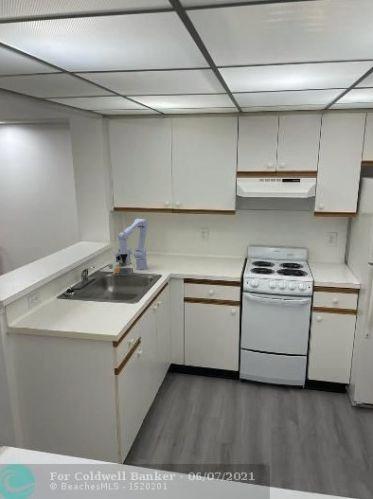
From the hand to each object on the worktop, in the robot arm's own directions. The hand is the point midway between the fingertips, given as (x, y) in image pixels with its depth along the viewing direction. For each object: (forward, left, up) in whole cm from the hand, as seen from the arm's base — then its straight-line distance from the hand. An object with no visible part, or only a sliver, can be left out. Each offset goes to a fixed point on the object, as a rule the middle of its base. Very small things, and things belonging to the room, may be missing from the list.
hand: (123, 262), depth 296 cm
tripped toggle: (+6, +1, -8) cm, 10 cm away
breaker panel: (+1, -6, -10) cm, 12 cm away
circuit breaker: (+3, -29, -10) cm, 31 cm away
